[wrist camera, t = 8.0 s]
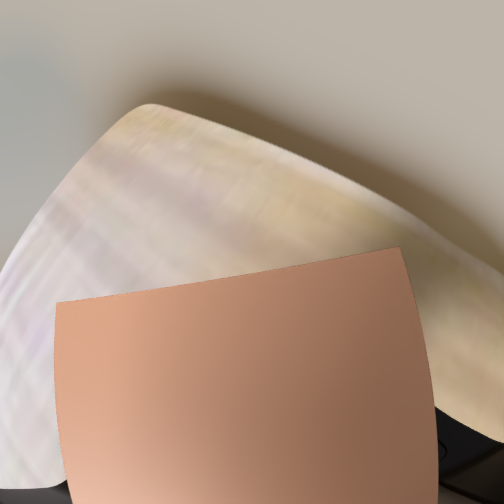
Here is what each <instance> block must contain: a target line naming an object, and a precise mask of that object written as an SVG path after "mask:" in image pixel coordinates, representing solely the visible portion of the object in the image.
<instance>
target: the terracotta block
mask: <svg viewBox="0 0 504 504" xmlns="http://www.w3.org/2000/svg"><path fill="white" fill-rule="evenodd" d="M54 380H55V399H56V412H57V422H58V431H59V438H60V445H61V452H62V458H63V463H64V468H65V473H66V478H67V482H68V487H69V491H70V495H71V499H72V502H73V504H438V442H437V427H436V415H435V406H434V397H433V389H432V382H431V375H430V369H429V363H428V357H427V352H426V347H425V342H424V337H423V332H422V327H421V323H420V319H419V314H418V310H417V306H416V302H415V298H414V294H413V291H412V287H411V283H410V280H409V276H408V273H407V270H406V266H405V263H404V260H403V257H402V253H401V250H400V247H399V246H398V247H393V248H388V249H383V250H378V251H373V252H368V253H363V254H357V255H352V256H347V257H341V258H336V259H331V260H325V261H320V262H314V263H309V264H303V265H298V266H292V267H286V268H281V269H275V270H269V271H263V272H258V273H252V274H246V275H240V276H234V277H228V278H222V279H216V280H209V281H203V282H197V283H191V284H184V285H178V286H172V287H165V288H159V289H152V290H145V291H139V292H132V293H125V294H118V295H111V296H104V297H97V298H90V299H82V300H75V301H67V302H60V303H57V304H56V317H55V337H54Z"/></svg>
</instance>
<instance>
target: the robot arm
mask: <svg viewBox="0 0 504 504" xmlns="http://www.w3.org/2000/svg"><path fill="white" fill-rule="evenodd" d="M435 415H436V427H437V442H438V504H504V443H501V442H498V441H495V440H493V439H491V438H489V437H487V436H485V435H483V434H481V433H479V432H477V431H475V430H473V429H471V428H469V427H467V426H466V425H464V424H462V423H460V422H458V421H457V420H455V419H453V418H452V417H450V416H448V415H447V414H446V413H444V412H443V411H441V410H440V409H438V408H437V407H435ZM0 504H73V502H72V499H71V495H70V491H69V487H68V482H67V480H65V481H64V482H62V483H61V484H58V485H56V486H53V487H49V488H36V489H0Z"/></svg>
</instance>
